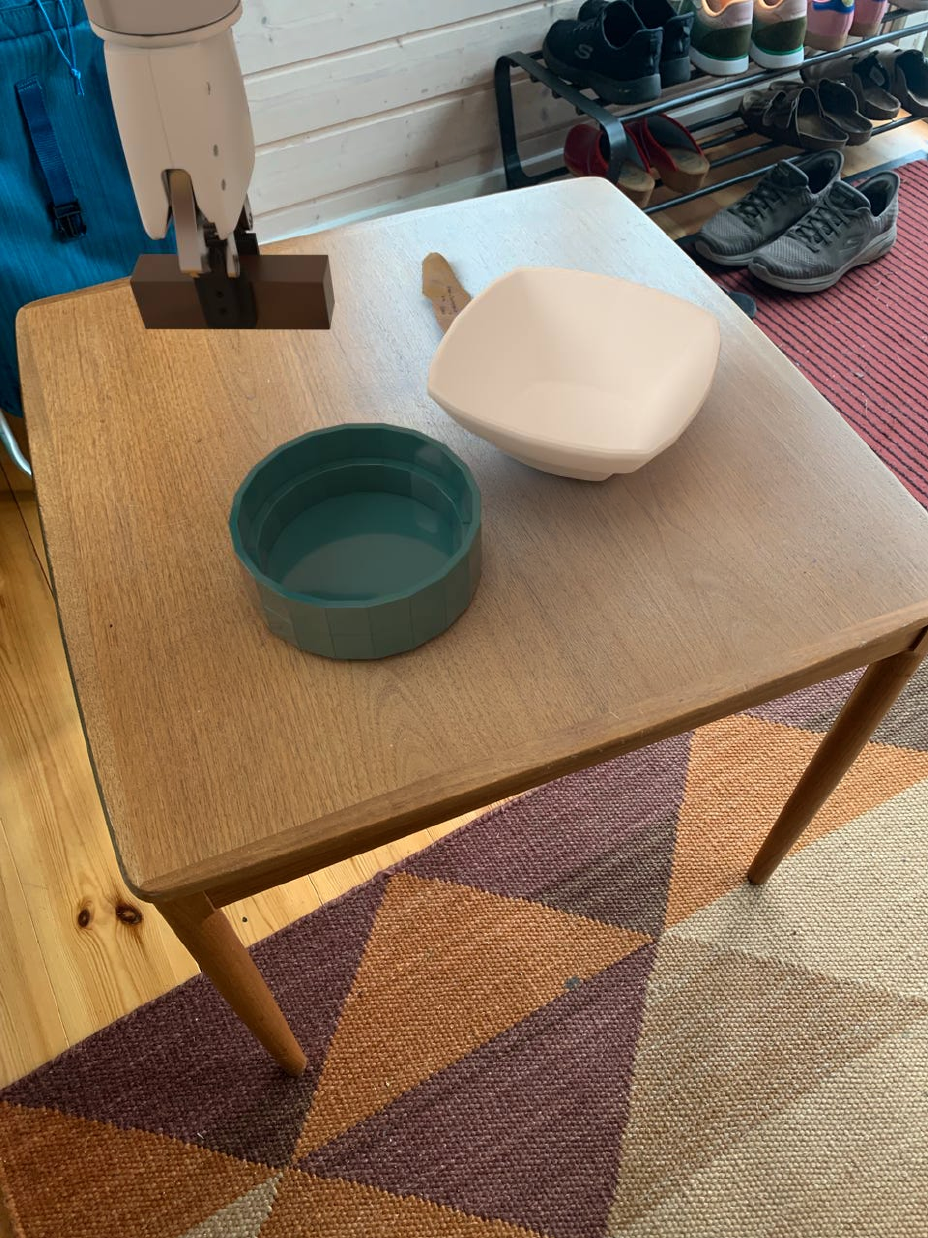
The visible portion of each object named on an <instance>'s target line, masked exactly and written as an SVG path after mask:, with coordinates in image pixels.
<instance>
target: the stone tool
mask: <svg viewBox="0 0 928 1238" xmlns="http://www.w3.org/2000/svg"><path fill="white" fill-rule="evenodd" d="M421 266H422V267H421V272H422V273H421V278H422V284H421V285H422V286H421V289H422V290H421V294H422V295H423V296H424V297H426V298H427V299H429V301H430V302H431V306H432V309H433V312H434V315H435V316H434V317H435V319H436V321H437V324H438V326H439V327H440V329H441V330H442V332H443V333H444V335H445V334H446V332H447V331H448V329H449V327H450V326H451V324H452V323H453V321H454V319H455V318H456V317H457V316H458V315H459V314H460V313H461V311H462V310H463V309H464V308H465V307H466V306H467V305H468V304H469V303H470V302H471V300H472V298H471V297H472V296H471V294H469V292H467V291H466V289H464V287H463V286H462V284H461V283H460V281H459V279H458V278H457V276H456V275H455V274H456V273H455V272H454V271H453V268H452V267H451V265H450V263H449V262H448V260H447V259H446V258H445V257H444V255H442V254H441V253H439V252H435V251H434V252H429V253H428V254H427V255H426V256H425V258H423V260H422V262H421Z"/></svg>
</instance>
